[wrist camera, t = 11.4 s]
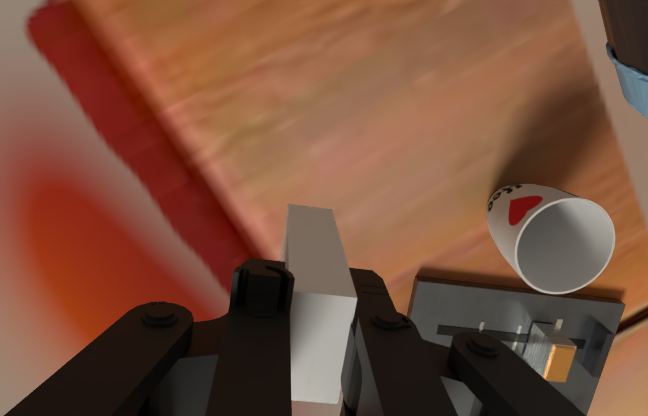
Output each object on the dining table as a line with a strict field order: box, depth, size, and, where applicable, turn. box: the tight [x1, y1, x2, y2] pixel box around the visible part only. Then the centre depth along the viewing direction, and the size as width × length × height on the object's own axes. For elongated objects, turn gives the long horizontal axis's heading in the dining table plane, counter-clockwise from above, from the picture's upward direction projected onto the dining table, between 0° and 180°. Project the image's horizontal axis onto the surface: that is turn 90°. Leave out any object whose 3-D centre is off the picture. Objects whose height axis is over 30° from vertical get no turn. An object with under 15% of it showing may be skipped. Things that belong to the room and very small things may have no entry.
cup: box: [486, 184, 615, 294], centre depth 44 cm, size 8×8×10 cm
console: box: [407, 276, 626, 416], centre depth 53 cm, size 20×22×3 cm
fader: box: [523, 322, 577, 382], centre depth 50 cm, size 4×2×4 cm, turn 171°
